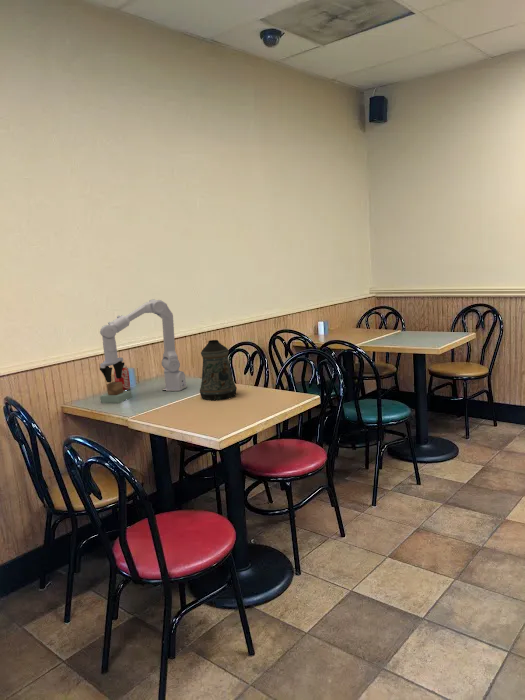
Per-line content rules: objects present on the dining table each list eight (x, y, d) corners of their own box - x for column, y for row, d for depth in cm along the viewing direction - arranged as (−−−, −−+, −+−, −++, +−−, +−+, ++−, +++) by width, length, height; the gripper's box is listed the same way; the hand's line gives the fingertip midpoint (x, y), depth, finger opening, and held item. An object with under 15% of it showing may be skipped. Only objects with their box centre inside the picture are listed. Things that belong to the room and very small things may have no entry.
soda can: (132, 388, 278) (129, 364, 276) (128, 391, 271) (125, 367, 269) (119, 388, 279) (116, 365, 277) (114, 392, 272) (111, 368, 270)
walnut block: (123, 392, 257) (122, 381, 256) (116, 395, 253) (115, 384, 252) (114, 392, 259) (113, 381, 258) (107, 394, 254) (106, 384, 254)
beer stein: (217, 402, 237) (211, 345, 233) (188, 397, 251) (183, 342, 246) (244, 393, 249) (240, 338, 245) (216, 389, 262) (211, 336, 258)
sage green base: (131, 397, 259) (131, 390, 259) (119, 403, 250) (118, 396, 249) (114, 396, 263) (113, 390, 262) (100, 402, 254) (100, 396, 253)
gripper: (112, 348, 261) (116, 376, 263) (93, 354, 247) (97, 383, 250) (125, 348, 258) (128, 376, 260) (106, 354, 245) (110, 384, 247)
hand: (114, 380), depth 255 cm, fingers open, 7 cm apart
